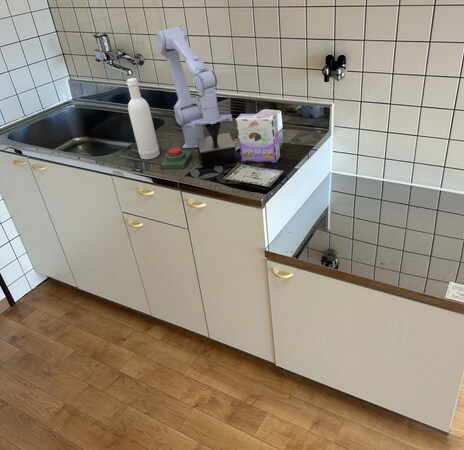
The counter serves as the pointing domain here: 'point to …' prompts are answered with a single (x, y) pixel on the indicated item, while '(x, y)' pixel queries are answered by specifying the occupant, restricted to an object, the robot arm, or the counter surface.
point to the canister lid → (222, 143)
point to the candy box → (258, 137)
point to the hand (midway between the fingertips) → (215, 142)
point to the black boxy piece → (218, 157)
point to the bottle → (142, 122)
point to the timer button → (174, 152)
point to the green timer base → (176, 160)
